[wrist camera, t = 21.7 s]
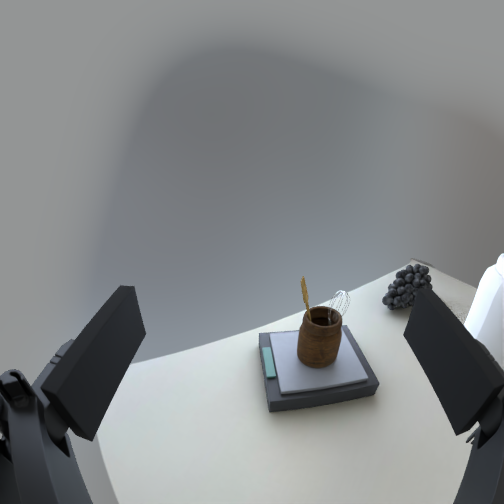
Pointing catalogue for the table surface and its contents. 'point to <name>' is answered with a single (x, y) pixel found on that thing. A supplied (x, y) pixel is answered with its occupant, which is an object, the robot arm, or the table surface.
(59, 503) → the robot arm
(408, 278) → the fruit
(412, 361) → the table surface
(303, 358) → the utensil holder
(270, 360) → the scale
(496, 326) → the can
